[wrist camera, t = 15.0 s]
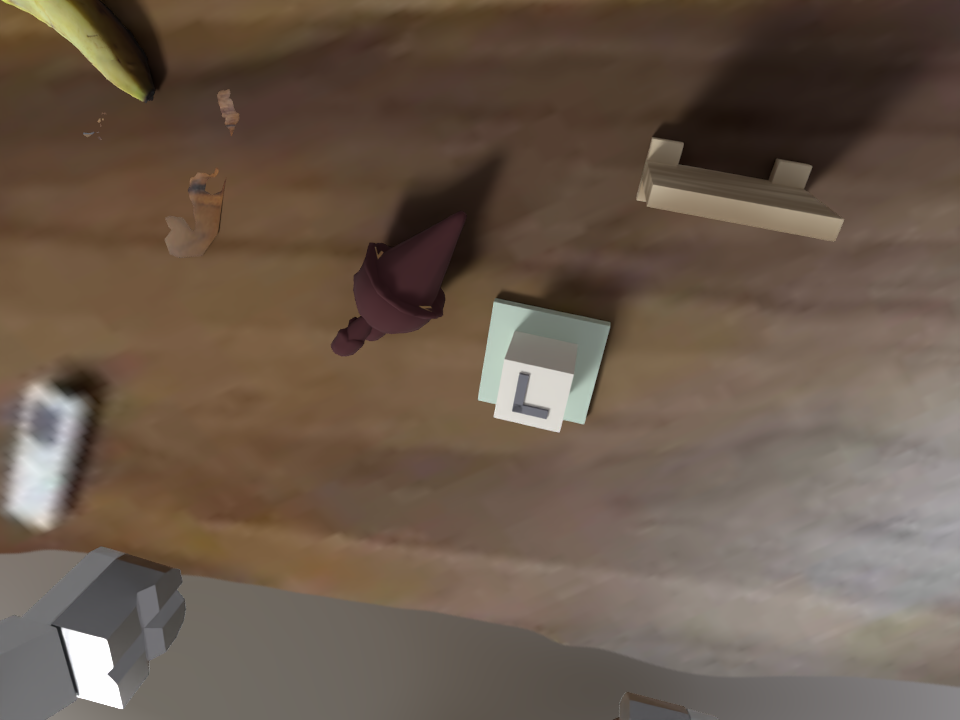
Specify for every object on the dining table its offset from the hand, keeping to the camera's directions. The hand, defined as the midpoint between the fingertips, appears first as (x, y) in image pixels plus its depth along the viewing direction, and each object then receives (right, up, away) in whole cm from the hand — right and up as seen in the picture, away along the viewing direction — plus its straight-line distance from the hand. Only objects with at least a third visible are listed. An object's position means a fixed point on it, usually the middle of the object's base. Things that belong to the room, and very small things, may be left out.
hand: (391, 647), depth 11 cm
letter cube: (+6, +5, +38) cm, 39 cm away
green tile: (+7, +5, +38) cm, 39 cm away
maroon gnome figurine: (-3, +12, +37) cm, 39 cm away
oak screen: (+18, +17, +30) cm, 39 cm away
